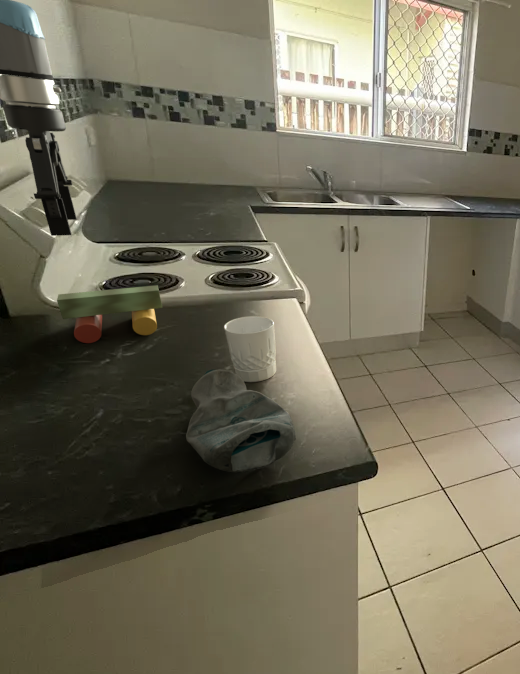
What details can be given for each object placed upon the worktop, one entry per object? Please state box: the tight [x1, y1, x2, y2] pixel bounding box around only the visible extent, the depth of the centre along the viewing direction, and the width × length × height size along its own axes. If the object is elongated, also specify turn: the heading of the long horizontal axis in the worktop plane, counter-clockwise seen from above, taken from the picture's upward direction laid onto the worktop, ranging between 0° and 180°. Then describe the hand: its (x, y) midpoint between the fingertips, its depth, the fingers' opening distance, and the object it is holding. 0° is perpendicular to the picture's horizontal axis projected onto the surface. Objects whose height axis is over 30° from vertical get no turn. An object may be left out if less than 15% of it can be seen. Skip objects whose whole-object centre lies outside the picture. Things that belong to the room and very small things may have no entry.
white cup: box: [223, 315, 277, 383], centre depth 86 cm, size 8×8×10 cm
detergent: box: [185, 368, 297, 473], centre depth 71 cm, size 13×7×25 cm
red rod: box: [73, 315, 103, 344], centre depth 96 cm, size 12×4×4 cm, turn 37°
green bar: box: [56, 284, 163, 320], centre depth 97 cm, size 16×4×4 cm, turn 126°
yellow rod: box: [131, 309, 158, 336], centre depth 101 cm, size 12×4×4 cm, turn 37°
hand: (64, 227), depth 91 cm, fingers open, 13 cm apart
